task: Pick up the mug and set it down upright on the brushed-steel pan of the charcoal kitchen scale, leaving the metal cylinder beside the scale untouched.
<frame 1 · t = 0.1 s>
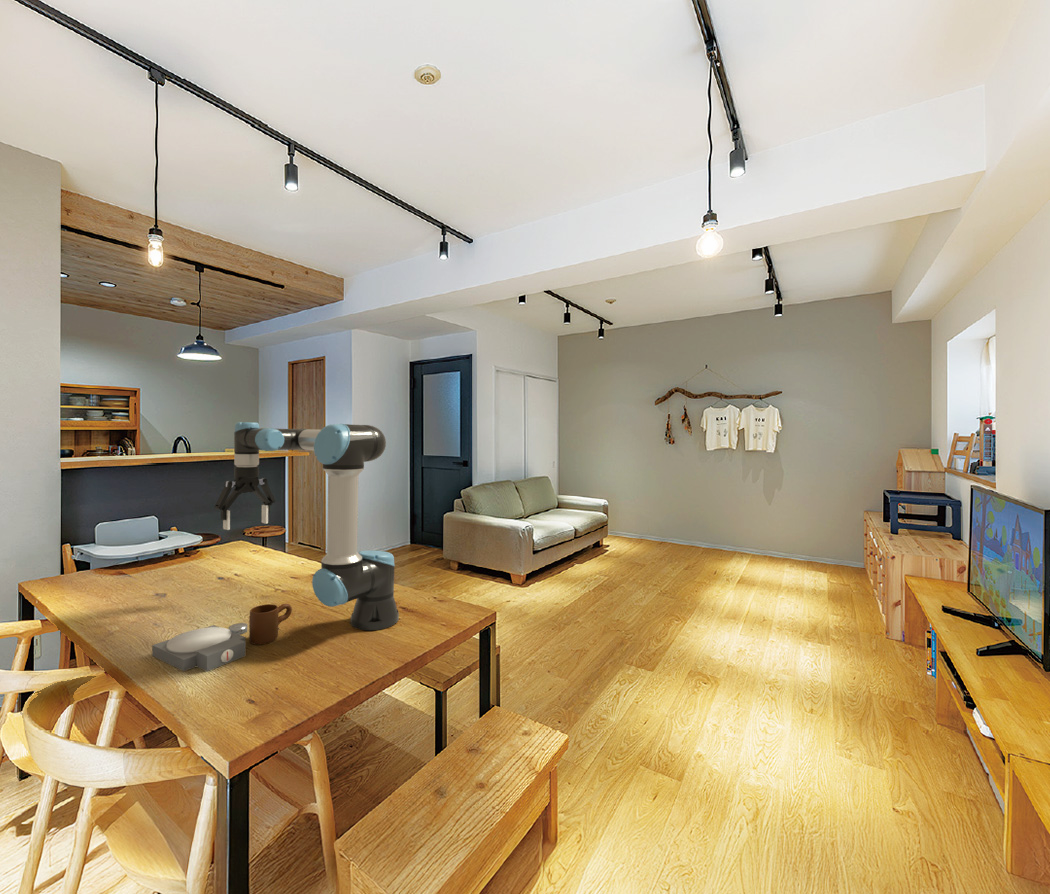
hand: (246, 526, 169), 28 cm above the table, fingers open, 13 cm apart
scale: (199, 651, 134), on the table
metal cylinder: (237, 632, 148), on the table
mug: (271, 638, 145), on the table
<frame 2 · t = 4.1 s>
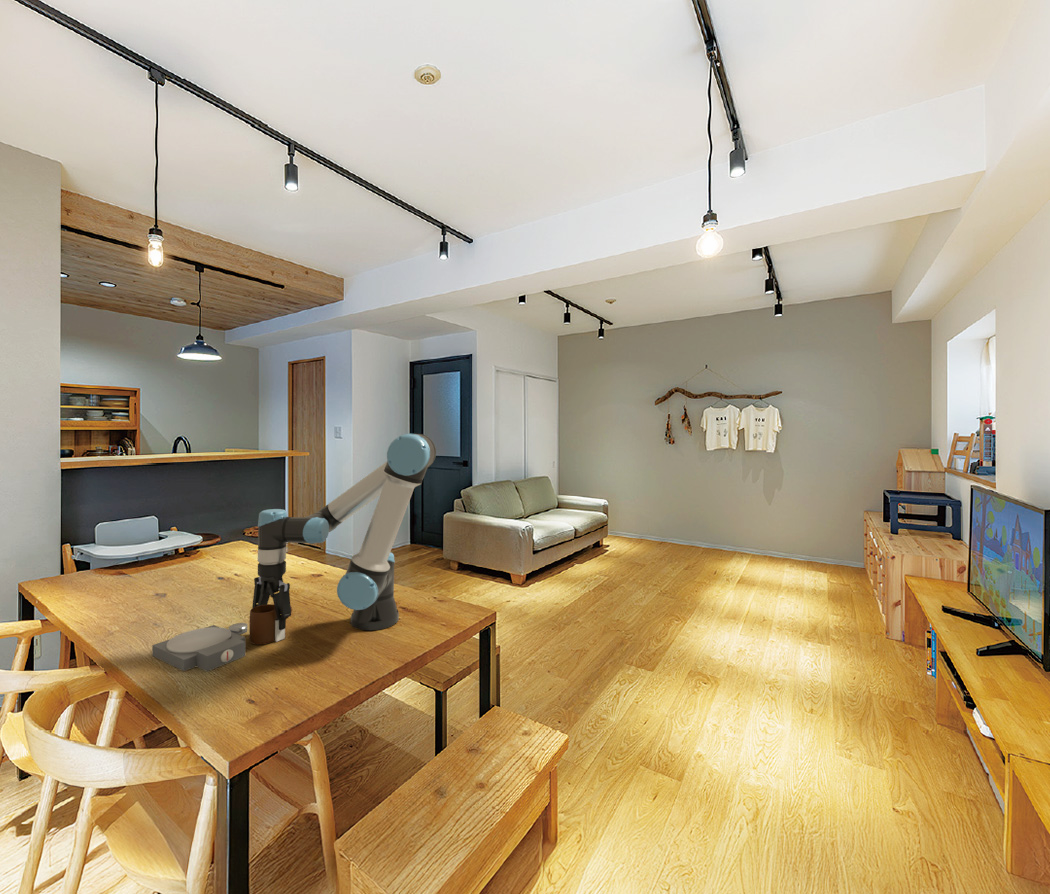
hand: (271, 636, 145), 0 cm above the table, fingers closed on mug, 8 cm apart
mug: (271, 638, 145), on the table, touching gripper
everything else where it was.
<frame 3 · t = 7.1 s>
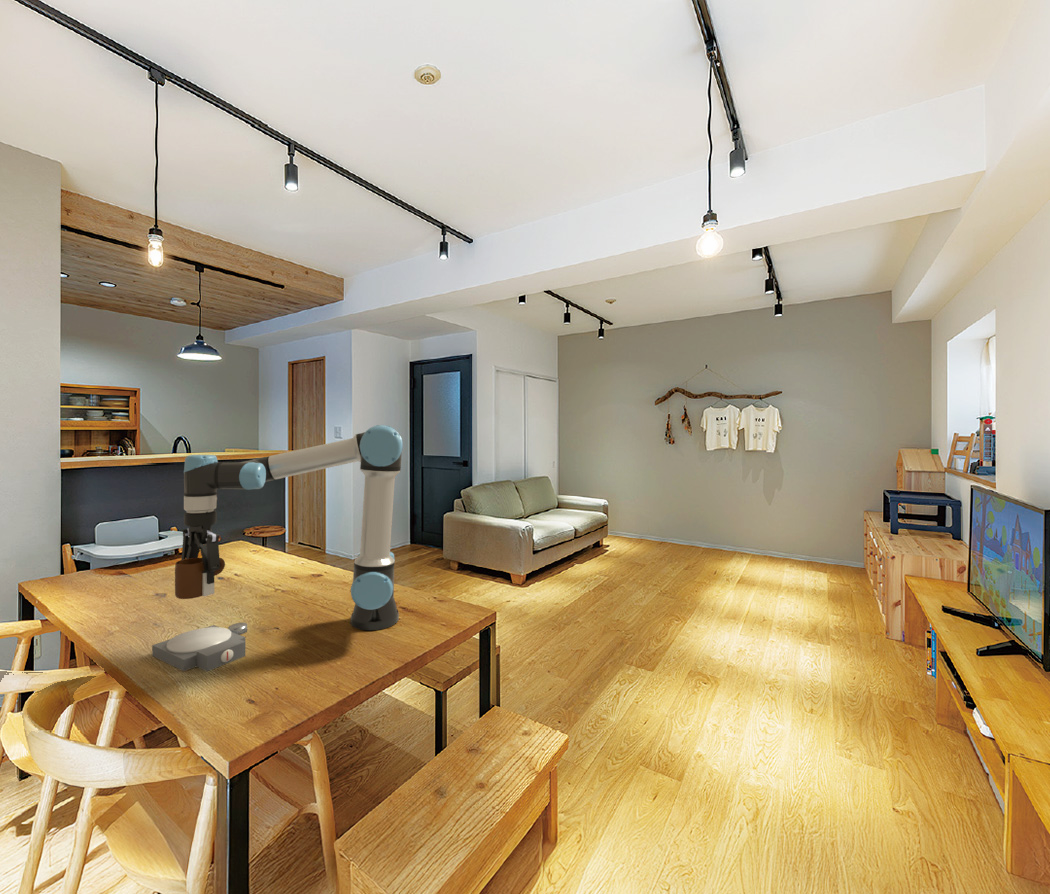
hand: (200, 591, 134), 17 cm above the table, fingers closed on mug, 7 cm apart
mug: (201, 593, 134), point 16 cm above the table, touching gripper
everything else where it was.
when the fingers open (6 cm above the table, at t = 9.9 s): mug drops 2 cm, resting on scale.
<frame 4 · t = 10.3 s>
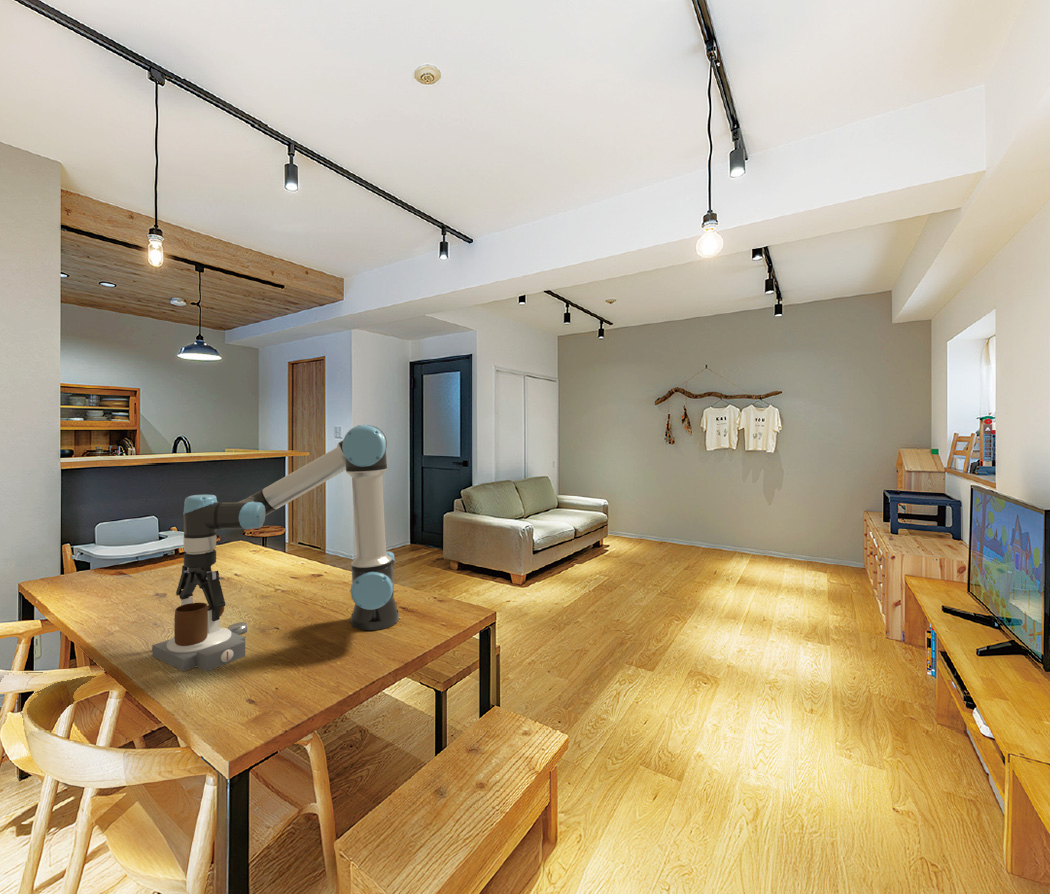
hand: (199, 626, 134), 7 cm above the table, fingers open, 13 cm apart
mug: (200, 638, 134), point 4 cm above the table, touching scale
everything else where it was.
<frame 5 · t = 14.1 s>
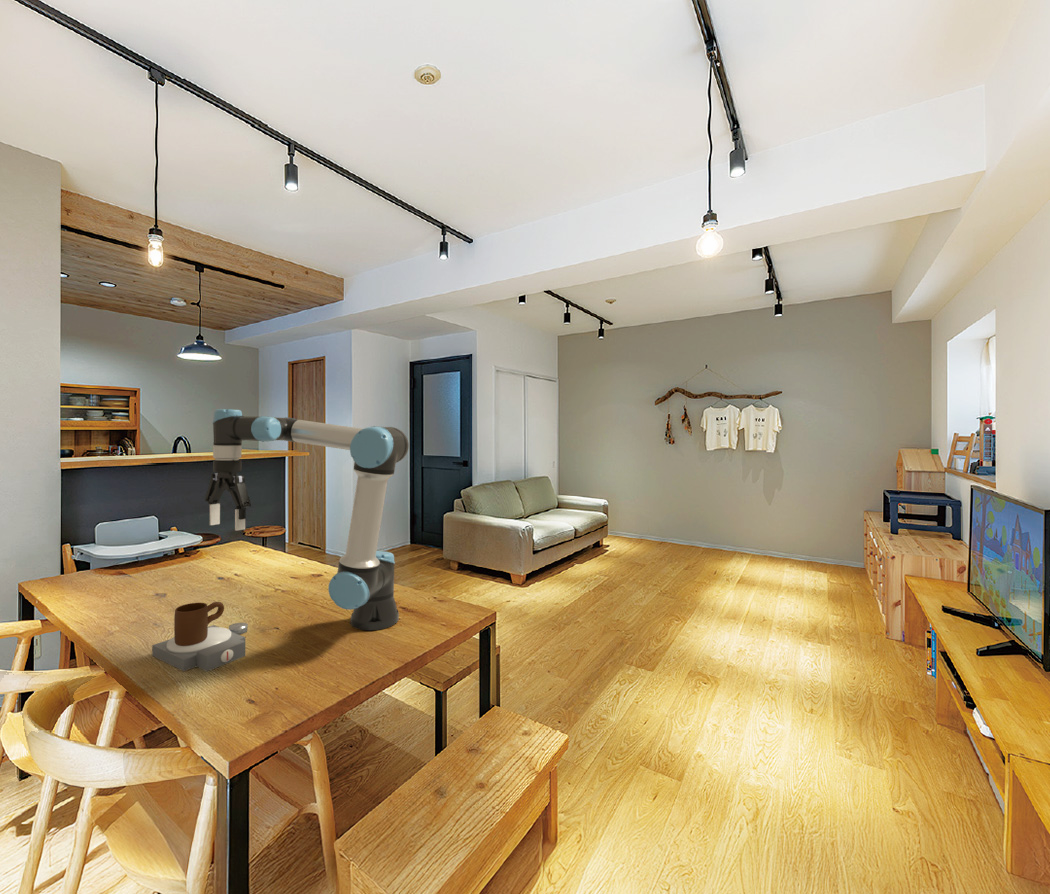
hand: (227, 527, 150), 32 cm above the table, fingers open, 13 cm apart
nothing on the table moved.
at the end: mug inside the target area on the scale (0.1 cm from its centre), point 3.6 cm above the scale's base; mug tilted 0°; the gripper is holding nothing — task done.
